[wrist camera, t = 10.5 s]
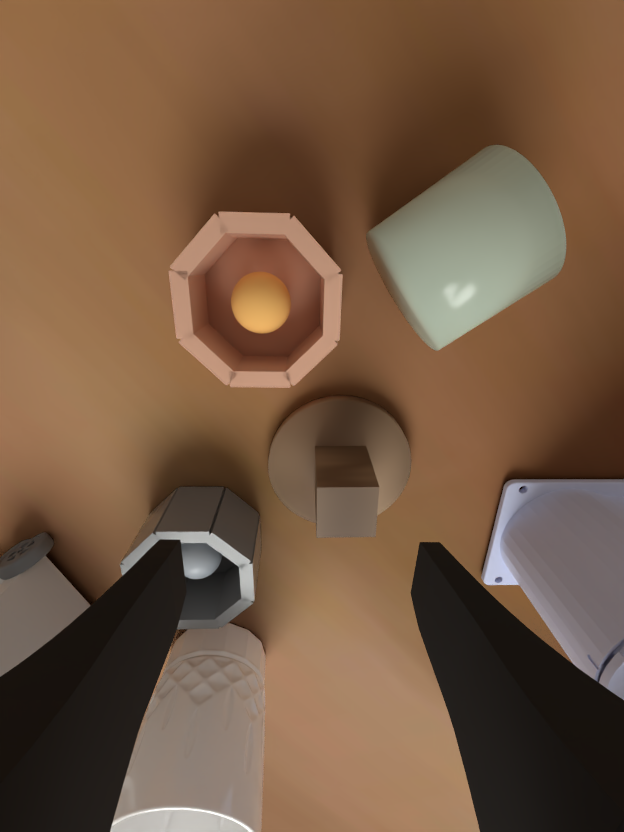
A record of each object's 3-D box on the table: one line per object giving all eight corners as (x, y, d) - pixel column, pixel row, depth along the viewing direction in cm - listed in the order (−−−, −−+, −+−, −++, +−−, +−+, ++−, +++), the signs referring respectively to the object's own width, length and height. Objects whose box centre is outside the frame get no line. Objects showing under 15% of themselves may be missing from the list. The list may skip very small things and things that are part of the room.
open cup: (336, 224, 17) (345, 214, 14) (330, 367, 20) (337, 388, 16) (188, 220, 17) (161, 209, 14) (201, 365, 19) (182, 386, 16)
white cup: (150, 622, 26) (69, 819, 17) (261, 607, 26) (241, 797, 17) (182, 694, 29) (127, 895, 20) (282, 680, 29) (274, 877, 20)
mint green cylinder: (454, 166, 16) (527, 121, 11) (504, 279, 18) (586, 285, 13) (357, 236, 17) (382, 225, 12) (414, 337, 19) (457, 364, 14)
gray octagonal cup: (258, 486, 22) (250, 531, 18) (262, 573, 25) (255, 627, 21) (143, 486, 22) (112, 532, 18) (159, 574, 24) (134, 629, 21)
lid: (413, 394, 20) (445, 434, 16) (400, 514, 23) (423, 577, 19) (266, 395, 20) (255, 435, 16) (272, 516, 23) (264, 579, 19)
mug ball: (224, 521, 22) (215, 552, 20) (227, 555, 23) (219, 589, 21) (180, 521, 22) (166, 553, 20) (185, 556, 23) (171, 590, 21)
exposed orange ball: (291, 271, 17) (290, 272, 15) (291, 328, 18) (290, 338, 16) (234, 270, 17) (223, 271, 15) (237, 328, 18) (228, 337, 16)
